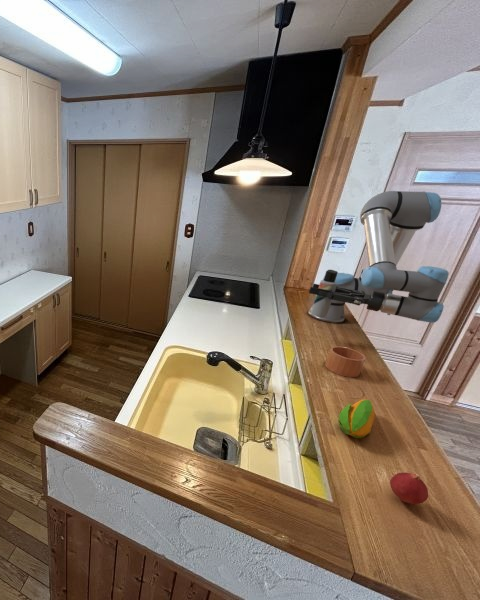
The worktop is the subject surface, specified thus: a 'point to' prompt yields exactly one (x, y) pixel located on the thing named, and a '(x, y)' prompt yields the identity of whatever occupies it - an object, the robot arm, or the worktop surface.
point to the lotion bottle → (323, 302)
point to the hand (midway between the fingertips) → (311, 288)
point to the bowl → (345, 361)
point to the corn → (357, 418)
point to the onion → (409, 488)
